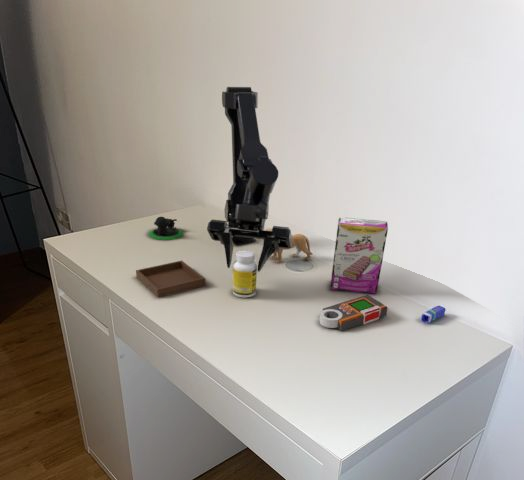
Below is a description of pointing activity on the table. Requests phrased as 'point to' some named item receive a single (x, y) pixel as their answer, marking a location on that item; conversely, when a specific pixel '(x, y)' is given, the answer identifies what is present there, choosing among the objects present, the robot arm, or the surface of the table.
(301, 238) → the lion figurine
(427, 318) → the eraser
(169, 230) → the toy figurine
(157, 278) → the tray
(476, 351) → the table surface
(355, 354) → the table surface
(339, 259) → the candy bar box
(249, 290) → the supplement bottle
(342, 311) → the electronic device
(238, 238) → the robot arm
